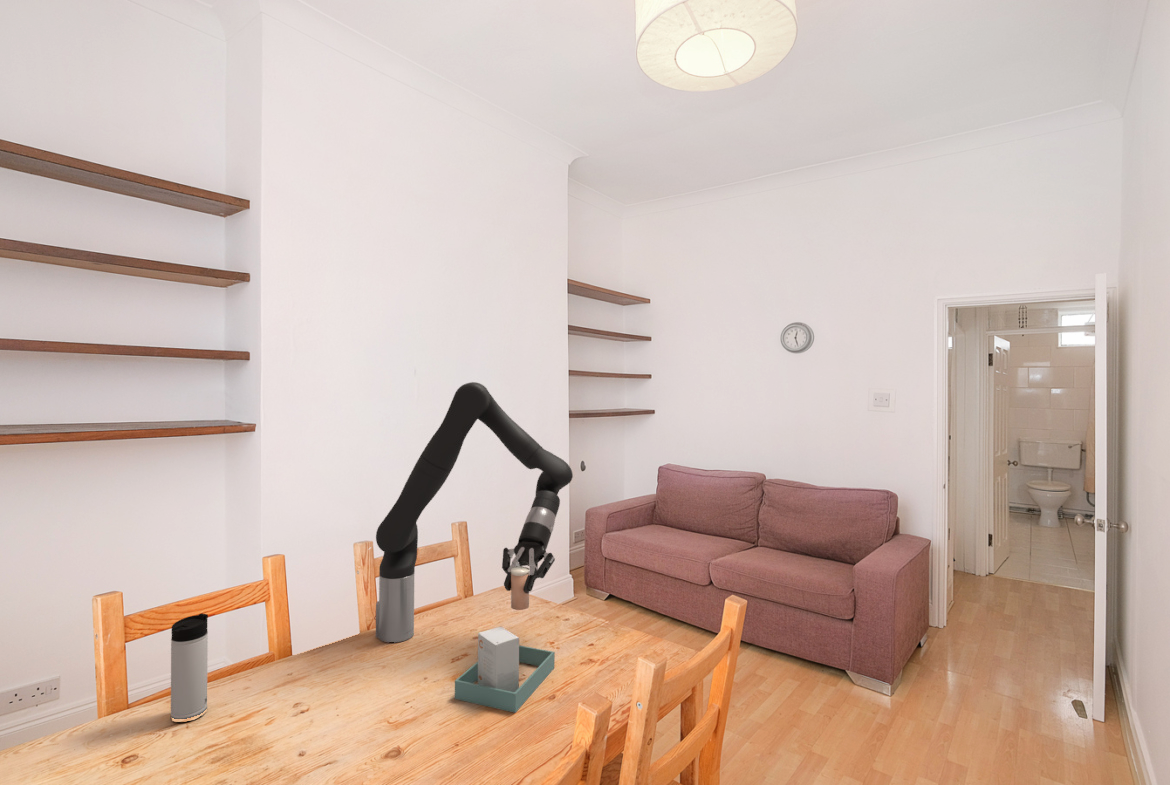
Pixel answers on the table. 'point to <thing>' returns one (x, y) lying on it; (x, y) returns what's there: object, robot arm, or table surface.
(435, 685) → the table surface
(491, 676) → the small box
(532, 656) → the tray
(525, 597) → the jar
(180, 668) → the travel mug
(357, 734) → the table surface
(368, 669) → the table surface
